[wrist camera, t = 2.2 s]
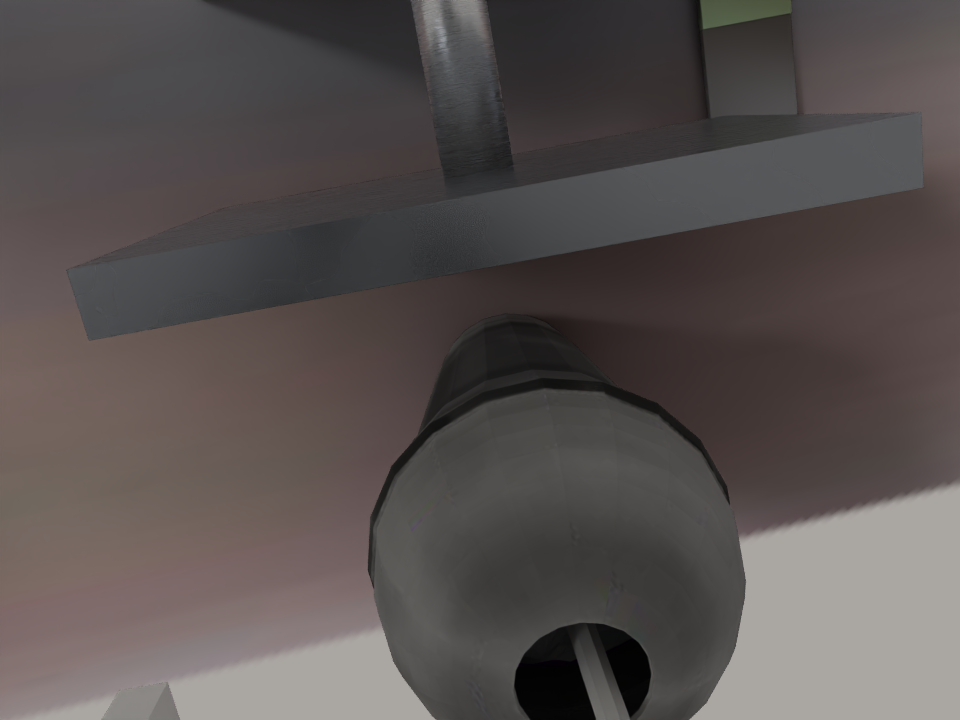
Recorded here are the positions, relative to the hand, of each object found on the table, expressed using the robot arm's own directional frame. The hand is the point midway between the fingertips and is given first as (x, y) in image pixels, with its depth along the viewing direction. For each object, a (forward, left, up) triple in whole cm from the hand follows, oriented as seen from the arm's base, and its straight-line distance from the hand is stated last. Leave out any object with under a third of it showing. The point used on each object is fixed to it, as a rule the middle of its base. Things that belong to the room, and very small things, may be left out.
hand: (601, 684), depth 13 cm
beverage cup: (0, 0, -16) cm, 16 cm away
